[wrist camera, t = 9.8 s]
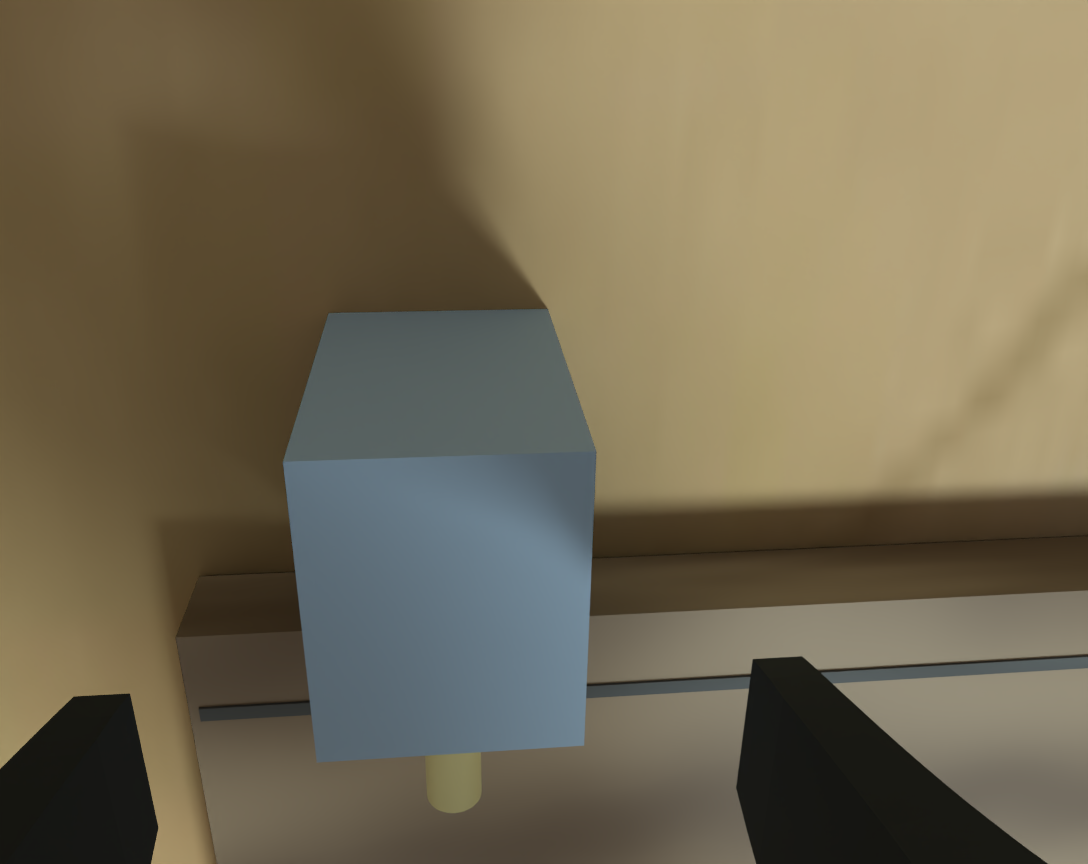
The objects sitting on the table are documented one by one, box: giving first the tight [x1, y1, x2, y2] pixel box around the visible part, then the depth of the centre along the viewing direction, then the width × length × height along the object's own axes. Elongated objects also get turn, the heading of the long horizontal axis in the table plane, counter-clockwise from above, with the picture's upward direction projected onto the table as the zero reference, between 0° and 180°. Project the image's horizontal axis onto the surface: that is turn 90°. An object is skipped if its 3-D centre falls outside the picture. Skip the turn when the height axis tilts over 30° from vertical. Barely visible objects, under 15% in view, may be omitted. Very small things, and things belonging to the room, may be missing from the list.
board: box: [176, 536, 1088, 864], centre depth 23 cm, size 12×30×2 cm, turn 90°
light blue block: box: [283, 309, 596, 813], centre depth 17 cm, size 8×4×6 cm, turn 179°
